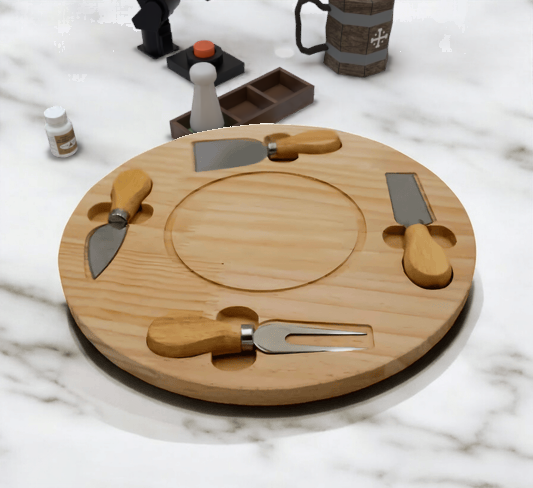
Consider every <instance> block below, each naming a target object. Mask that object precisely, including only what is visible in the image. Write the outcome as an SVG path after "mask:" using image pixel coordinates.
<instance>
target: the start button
mask: <svg viewBox="0 0 533 488" xmlns="http://www.w3.org/2000/svg"><path fill="white" fill-rule="evenodd" d="M214 44H215V43H214V42H213V41H211V40H206V39H202V40H197V41H195V42H194V44H193V45H194V46H193V45H192V46H193V47H194V55H195V56H196V57H201V58H206V57H211V56H213V55H214V54H215V48H214Z"/></svg>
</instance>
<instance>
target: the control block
mask: <svg viewBox="0 0 533 488" xmlns="http://www.w3.org/2000/svg"><path fill="white" fill-rule="evenodd" d="M193 46H194V44H193V45H191V46H189V47H187V48H184V49H183V50H180V51H177V52H176V53H172V54H171V55H168V56H167V57H165V58H166V59H165V60H166V68H168V70H171V71H172V72H174V73H175V74H177V75H179V76H180V77H181V78H183V79H185V80H186V81H188V82H190V83H191V84H192V85H194V83H193V82H192V81H191V79H190V69H191V67H192V66H193V65H194V64H196V63H200V62H207V63H210V64H212V65H213V66H214V67H215V70H216V73H217V78H216V80H215V81H214V86H215V87H217V86H219V85H222V84H224V83H227V82H228V81H230V80H232V79H234V78H236V77H239V76H240V75H243V74H244V73H245V62H244V61H242V60H241V59H239V58H237V57H236V56H233V55H232V54H230V53H228V52H227V51H225V50H223V48H222V47H221V46H219V45H217V44H216V43H214V48H215V54H214V55H213V56H211V57H206V58H201V57H196V56H195V55H194V47H193Z"/></svg>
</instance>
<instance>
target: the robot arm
mask: <svg viewBox="0 0 533 488" xmlns="http://www.w3.org/2000/svg"><path fill="white" fill-rule="evenodd" d="M205 1H206V2H209V1H211V0H205ZM136 2H137V4H138V6H139V8H140V9H139V10H138V11H137V12H136V13H135V14H134V15H133V17H131V22H132V25H133V27H134V28H135V29H136V30H140V32H141V39H142V43H141V44H139V45H137V46H136V49H137V51H140V52H141V53H143V54H145V55H146V56H148V57H150V58H151V59H152V60H158V59H160V58H164V57H165V56H167V55H168V56H169V55H170V54H173V53H174V52H178V51H179V50H180V46H179V45H177V44H176V43H175V42H174V38H173V32H172V25H171V22H170V19H169V18H170V17H171V15H173V14H174V11H175V10H176V9H177V8H178V6H179V5H180V3H181V0H136Z"/></svg>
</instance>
